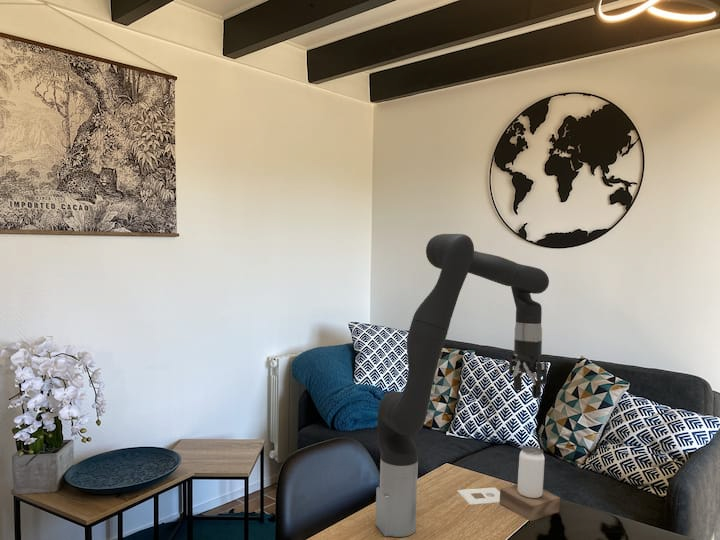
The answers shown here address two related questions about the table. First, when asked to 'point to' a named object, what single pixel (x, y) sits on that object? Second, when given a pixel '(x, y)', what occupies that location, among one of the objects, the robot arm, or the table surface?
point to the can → (531, 472)
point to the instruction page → (480, 495)
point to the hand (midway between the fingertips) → (526, 394)
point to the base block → (529, 503)
